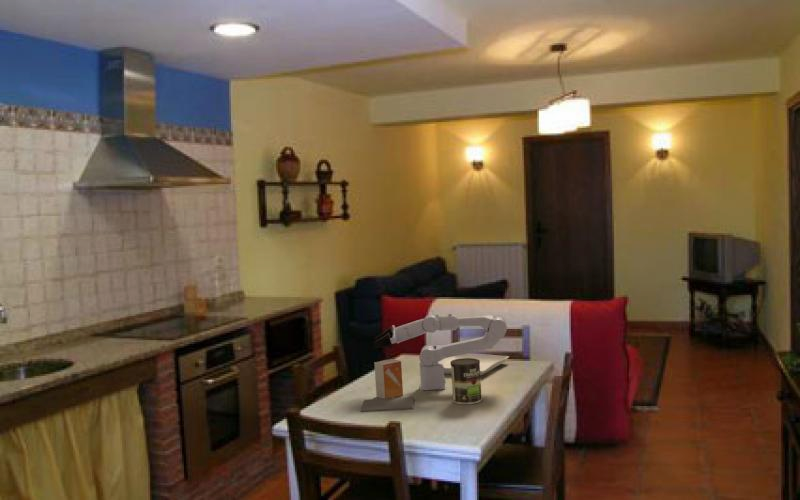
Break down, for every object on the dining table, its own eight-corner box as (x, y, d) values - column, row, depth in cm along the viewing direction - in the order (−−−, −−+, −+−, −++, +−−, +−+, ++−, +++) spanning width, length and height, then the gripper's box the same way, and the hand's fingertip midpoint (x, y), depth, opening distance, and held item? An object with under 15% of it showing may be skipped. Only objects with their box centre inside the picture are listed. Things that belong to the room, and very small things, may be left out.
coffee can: (487, 401, 252) (485, 361, 252) (462, 406, 248) (460, 366, 247) (471, 394, 262) (469, 356, 261) (447, 400, 257) (444, 361, 256)
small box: (385, 400, 262) (382, 364, 261) (376, 396, 267) (373, 362, 266) (403, 395, 267) (401, 360, 266) (394, 392, 272) (392, 358, 271)
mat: (413, 398, 262) (413, 396, 262) (413, 409, 249) (412, 407, 249) (364, 401, 262) (364, 399, 262) (360, 411, 249) (360, 410, 249)
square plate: (510, 364, 306) (509, 355, 306) (483, 380, 282) (483, 370, 282) (453, 360, 320) (452, 351, 320) (423, 375, 296) (422, 366, 296)
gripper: (405, 317, 281) (373, 328, 283) (403, 326, 267) (368, 338, 268) (412, 334, 282) (379, 345, 284) (409, 343, 268) (375, 355, 269)
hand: (374, 342), depth 276 cm, fingers open, 7 cm apart
